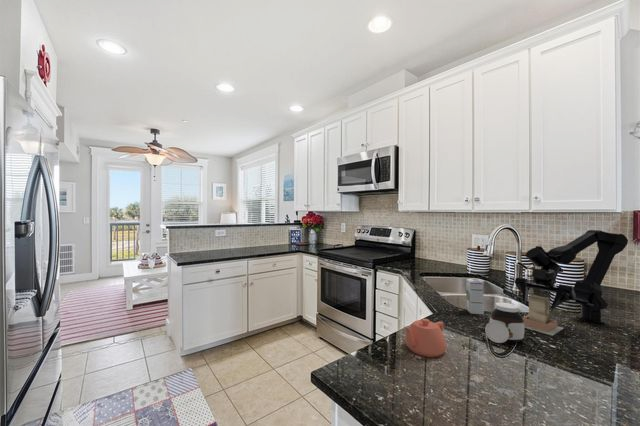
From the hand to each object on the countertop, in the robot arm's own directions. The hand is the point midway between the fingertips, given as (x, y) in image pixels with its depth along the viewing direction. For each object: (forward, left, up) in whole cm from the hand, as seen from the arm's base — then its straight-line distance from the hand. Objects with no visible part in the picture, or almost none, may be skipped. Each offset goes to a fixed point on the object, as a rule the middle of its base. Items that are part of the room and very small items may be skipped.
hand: (537, 305), depth 109 cm
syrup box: (-14, -18, -9) cm, 24 cm away
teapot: (+29, -47, -9) cm, 56 cm away
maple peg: (-1, +1, -8) cm, 8 cm away
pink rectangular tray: (-1, +1, -9) cm, 9 cm away
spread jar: (+15, -18, -9) cm, 25 cm away
